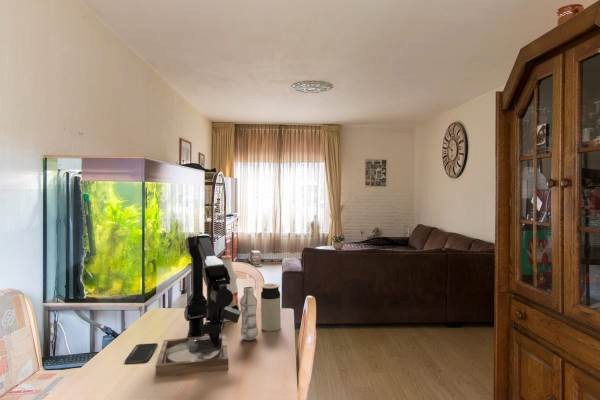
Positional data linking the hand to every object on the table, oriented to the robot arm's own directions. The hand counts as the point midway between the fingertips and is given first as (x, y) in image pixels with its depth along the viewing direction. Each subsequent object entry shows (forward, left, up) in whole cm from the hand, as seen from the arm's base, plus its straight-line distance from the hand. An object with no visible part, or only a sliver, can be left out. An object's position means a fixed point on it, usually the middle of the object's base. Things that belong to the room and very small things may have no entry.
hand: (216, 346), depth 134 cm
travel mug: (-25, +23, -5) cm, 34 cm away
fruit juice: (-43, +6, -5) cm, 44 cm away
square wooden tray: (-2, -7, -4) cm, 9 cm away
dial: (-2, -7, -3) cm, 8 cm away
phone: (-11, -25, -5) cm, 28 cm away
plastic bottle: (-15, +13, -5) cm, 20 cm away
